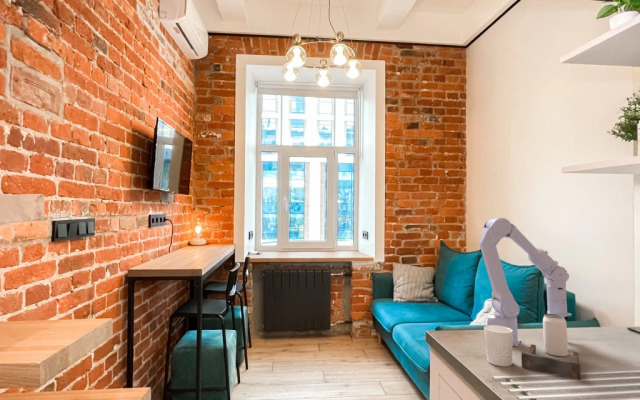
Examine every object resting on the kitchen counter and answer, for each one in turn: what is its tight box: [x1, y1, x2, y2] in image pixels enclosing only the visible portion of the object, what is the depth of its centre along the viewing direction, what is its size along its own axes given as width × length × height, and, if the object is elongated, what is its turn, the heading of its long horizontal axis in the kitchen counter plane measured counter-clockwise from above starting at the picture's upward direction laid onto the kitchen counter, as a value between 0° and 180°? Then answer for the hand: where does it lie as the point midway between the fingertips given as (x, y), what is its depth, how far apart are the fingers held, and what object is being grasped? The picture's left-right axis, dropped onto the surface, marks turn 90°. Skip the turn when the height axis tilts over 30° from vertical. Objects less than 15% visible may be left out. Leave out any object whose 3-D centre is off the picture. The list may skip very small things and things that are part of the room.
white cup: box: [483, 325, 514, 367], centre depth 109 cm, size 8×8×10 cm
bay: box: [521, 343, 582, 381], centre depth 106 cm, size 14×14×4 cm
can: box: [542, 313, 569, 358], centre depth 116 cm, size 6×6×12 cm
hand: (558, 338), depth 125 cm, fingers open, 7 cm apart
